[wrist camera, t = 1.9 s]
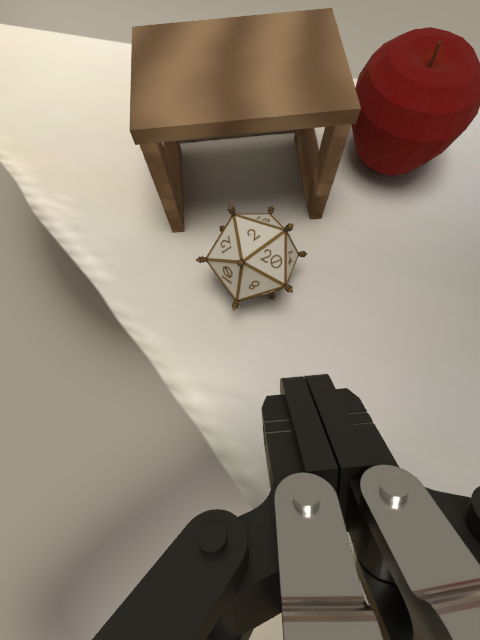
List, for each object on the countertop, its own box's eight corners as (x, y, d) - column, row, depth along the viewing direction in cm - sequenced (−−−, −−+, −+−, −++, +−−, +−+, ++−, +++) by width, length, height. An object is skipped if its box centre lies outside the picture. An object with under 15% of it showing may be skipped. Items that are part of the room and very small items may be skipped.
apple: (428, 209, 35) (512, 102, 24) (326, 186, 36) (360, 75, 25) (440, 131, 38) (519, 6, 27) (347, 112, 39) (385, -14, 28)
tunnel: (307, 137, 38) (331, 7, 27) (324, 218, 35) (361, 108, 23) (168, 150, 38) (132, 26, 27) (170, 232, 34) (129, 130, 23)
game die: (268, 283, 36) (341, 233, 29) (241, 342, 31) (322, 298, 24) (204, 227, 34) (267, 156, 26) (163, 280, 29) (227, 210, 21)
